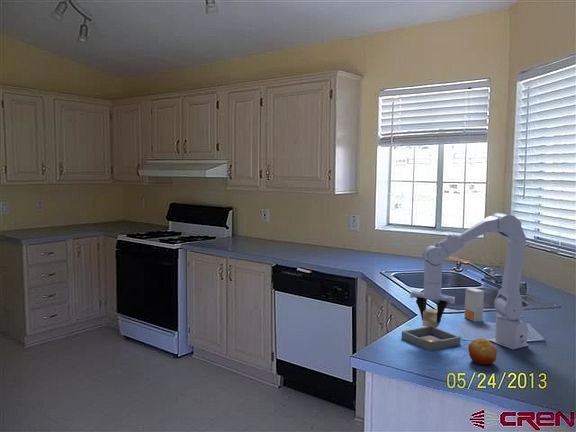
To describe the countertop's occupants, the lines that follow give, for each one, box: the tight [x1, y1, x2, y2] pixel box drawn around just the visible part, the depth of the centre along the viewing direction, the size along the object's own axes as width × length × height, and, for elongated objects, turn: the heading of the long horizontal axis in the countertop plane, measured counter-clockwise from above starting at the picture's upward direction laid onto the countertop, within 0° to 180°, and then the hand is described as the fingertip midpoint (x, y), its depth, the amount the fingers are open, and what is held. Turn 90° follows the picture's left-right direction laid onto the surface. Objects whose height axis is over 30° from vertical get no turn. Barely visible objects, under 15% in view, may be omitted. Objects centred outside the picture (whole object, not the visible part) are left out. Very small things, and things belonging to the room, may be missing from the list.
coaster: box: [421, 336, 441, 342], centre depth 165 cm, size 7×7×1 cm
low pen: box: [401, 326, 462, 352], centre depth 165 cm, size 14×14×2 cm
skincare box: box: [463, 287, 485, 323], centre depth 190 cm, size 6×4×12 cm
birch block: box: [422, 307, 441, 328], centre depth 164 cm, size 4×4×5 cm
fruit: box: [467, 338, 498, 366], centre depth 147 cm, size 8×8×8 cm
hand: (431, 321), depth 164 cm, fingers closed on birch block, 4 cm apart
